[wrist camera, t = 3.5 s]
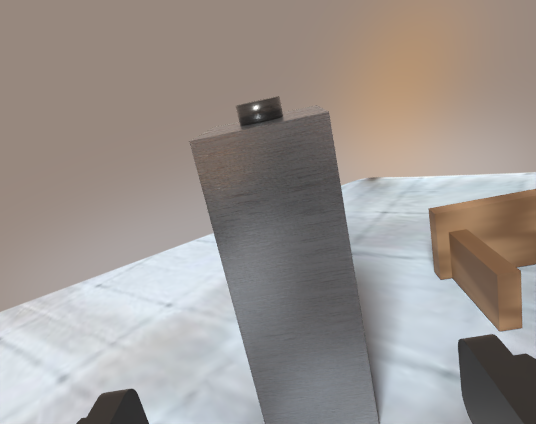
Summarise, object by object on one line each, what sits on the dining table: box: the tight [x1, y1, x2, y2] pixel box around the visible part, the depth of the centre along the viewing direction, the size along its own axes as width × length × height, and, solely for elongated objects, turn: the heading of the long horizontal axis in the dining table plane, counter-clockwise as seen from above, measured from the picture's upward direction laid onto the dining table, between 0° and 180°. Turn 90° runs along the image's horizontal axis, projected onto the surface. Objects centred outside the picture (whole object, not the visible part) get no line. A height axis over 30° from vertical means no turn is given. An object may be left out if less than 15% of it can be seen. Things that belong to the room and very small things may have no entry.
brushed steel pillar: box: [189, 96, 379, 424], centre depth 18 cm, size 5×5×15 cm
